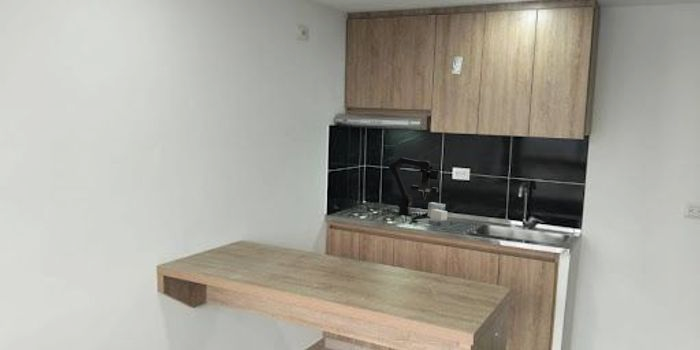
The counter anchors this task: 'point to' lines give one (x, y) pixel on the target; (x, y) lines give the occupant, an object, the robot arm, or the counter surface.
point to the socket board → (436, 222)
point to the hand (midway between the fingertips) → (423, 200)
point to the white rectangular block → (438, 215)
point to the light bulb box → (435, 207)
